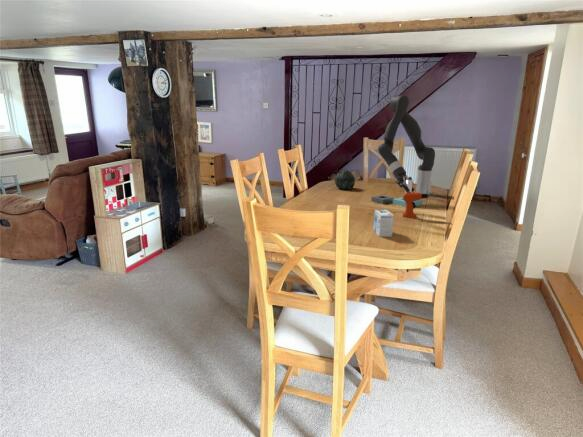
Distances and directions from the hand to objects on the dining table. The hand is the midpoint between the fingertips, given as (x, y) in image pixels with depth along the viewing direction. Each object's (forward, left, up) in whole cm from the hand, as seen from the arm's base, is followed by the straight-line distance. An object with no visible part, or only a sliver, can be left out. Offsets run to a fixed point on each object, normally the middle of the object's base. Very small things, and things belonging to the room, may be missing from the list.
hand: (410, 191), depth 258 cm
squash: (-1, -61, -9) cm, 62 cm away
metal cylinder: (0, -2, -7) cm, 7 cm away
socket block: (+8, -16, -9) cm, 20 cm away
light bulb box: (+60, +31, -9) cm, 68 cm away
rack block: (0, -2, -9) cm, 9 cm away
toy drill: (+21, +22, -9) cm, 32 cm away
